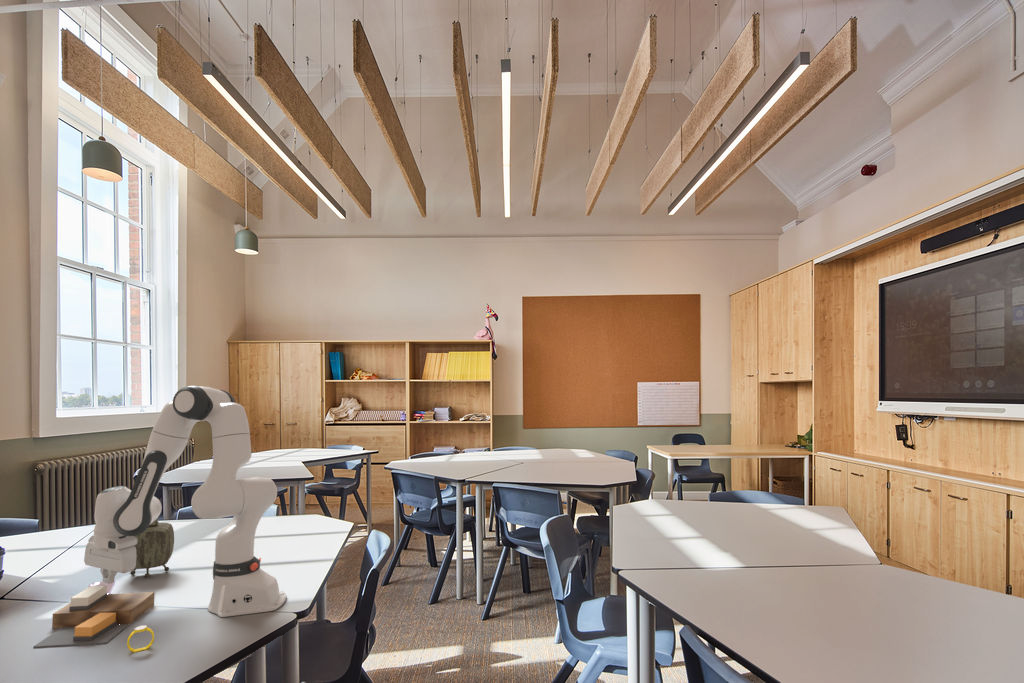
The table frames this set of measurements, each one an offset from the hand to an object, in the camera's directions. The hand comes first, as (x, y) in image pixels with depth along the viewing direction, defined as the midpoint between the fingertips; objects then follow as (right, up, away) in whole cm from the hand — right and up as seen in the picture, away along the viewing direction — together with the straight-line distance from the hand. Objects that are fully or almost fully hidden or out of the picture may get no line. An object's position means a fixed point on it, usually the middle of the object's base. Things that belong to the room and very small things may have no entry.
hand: (108, 582), depth 184 cm
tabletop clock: (-3, -8, +25) cm, 26 cm away
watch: (+30, -5, -32) cm, 44 cm away
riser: (+6, -6, -10) cm, 13 cm away
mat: (+9, -5, -23) cm, 26 cm away
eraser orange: (+12, -5, -22) cm, 26 cm away
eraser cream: (+2, -2, -11) cm, 11 cm away
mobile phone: (-11, -8, +11) cm, 18 cm away
